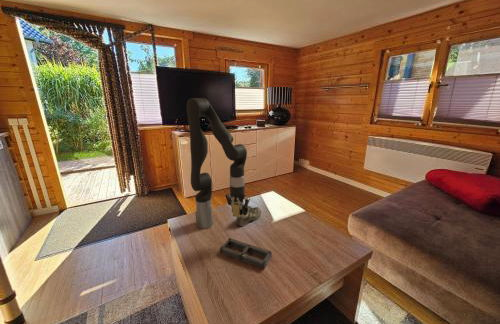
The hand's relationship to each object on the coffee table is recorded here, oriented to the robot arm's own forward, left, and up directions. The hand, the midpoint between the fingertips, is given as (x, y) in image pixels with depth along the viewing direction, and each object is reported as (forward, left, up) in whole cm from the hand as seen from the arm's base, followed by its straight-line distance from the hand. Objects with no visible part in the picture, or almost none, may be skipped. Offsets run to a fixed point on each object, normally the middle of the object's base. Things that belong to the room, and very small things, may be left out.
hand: (237, 213), depth 113 cm
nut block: (0, 0, -1) cm, 1 cm away
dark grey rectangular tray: (+9, -9, -16) cm, 21 cm away
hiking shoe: (-4, +21, -17) cm, 27 cm away
